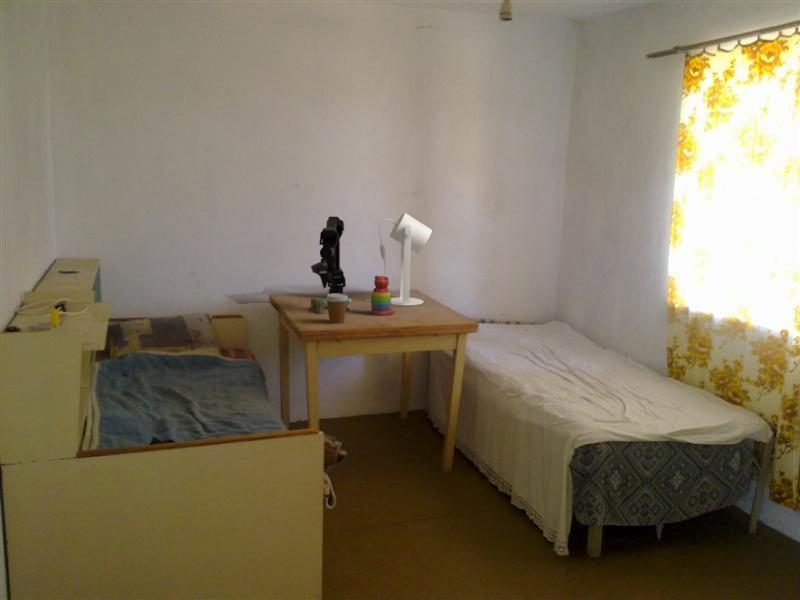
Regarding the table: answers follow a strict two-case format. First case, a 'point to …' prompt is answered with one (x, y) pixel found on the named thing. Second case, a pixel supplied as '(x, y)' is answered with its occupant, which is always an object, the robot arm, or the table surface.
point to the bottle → (327, 304)
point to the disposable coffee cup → (336, 307)
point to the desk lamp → (406, 252)
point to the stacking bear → (381, 297)
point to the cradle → (320, 307)
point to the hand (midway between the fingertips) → (328, 289)
